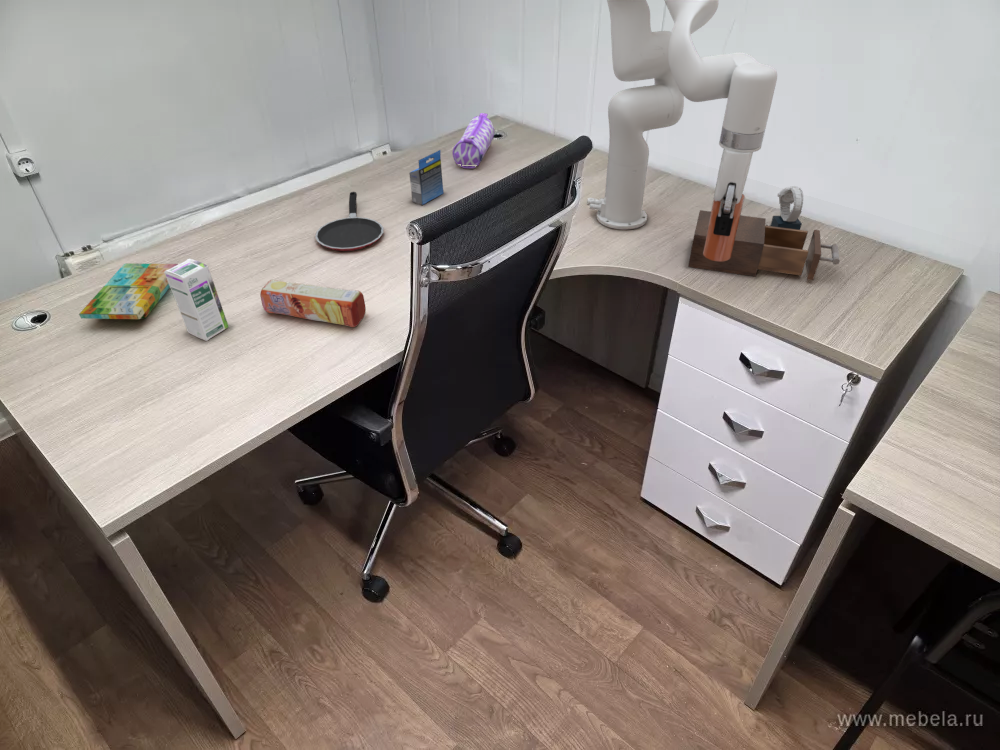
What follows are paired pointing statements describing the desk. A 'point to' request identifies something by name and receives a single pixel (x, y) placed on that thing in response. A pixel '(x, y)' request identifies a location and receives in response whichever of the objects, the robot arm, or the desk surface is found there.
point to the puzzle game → (129, 293)
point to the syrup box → (197, 299)
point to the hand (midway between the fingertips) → (722, 226)
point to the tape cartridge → (427, 179)
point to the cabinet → (744, 247)
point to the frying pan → (349, 231)
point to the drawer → (793, 251)
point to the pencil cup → (718, 244)
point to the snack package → (314, 302)
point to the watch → (785, 200)
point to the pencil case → (474, 142)
